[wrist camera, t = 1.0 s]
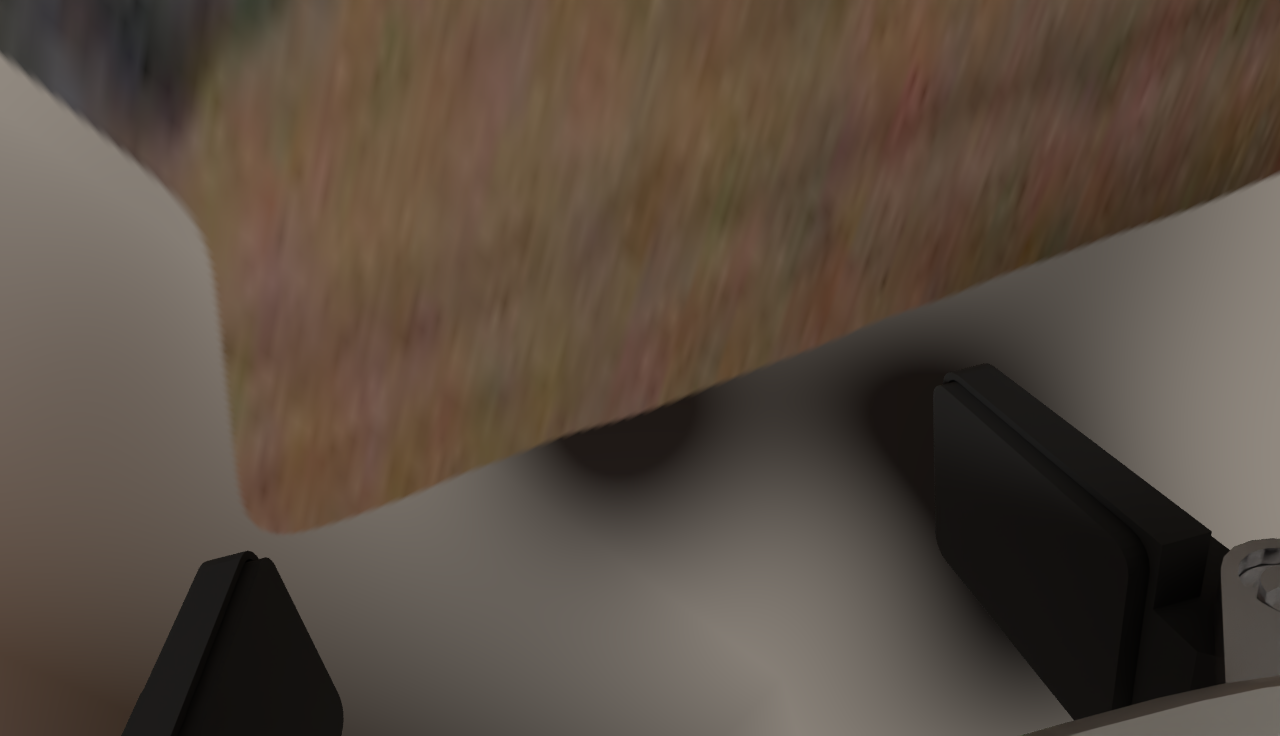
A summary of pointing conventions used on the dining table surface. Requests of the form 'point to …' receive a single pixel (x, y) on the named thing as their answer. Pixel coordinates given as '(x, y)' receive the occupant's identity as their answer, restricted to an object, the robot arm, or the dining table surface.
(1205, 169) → the dining table surface
